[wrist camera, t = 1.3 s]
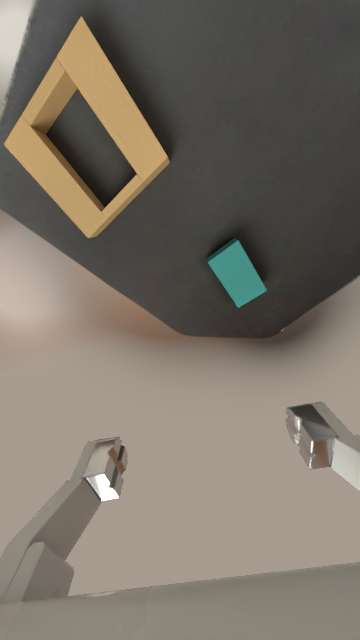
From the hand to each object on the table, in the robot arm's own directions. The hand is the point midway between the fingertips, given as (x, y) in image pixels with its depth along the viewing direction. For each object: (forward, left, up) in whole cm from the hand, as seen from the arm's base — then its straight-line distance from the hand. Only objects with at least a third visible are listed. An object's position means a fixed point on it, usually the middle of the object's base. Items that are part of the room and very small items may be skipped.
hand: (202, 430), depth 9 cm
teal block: (-7, +1, -29) cm, 30 cm away
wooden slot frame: (+12, -18, -29) cm, 36 cm away
